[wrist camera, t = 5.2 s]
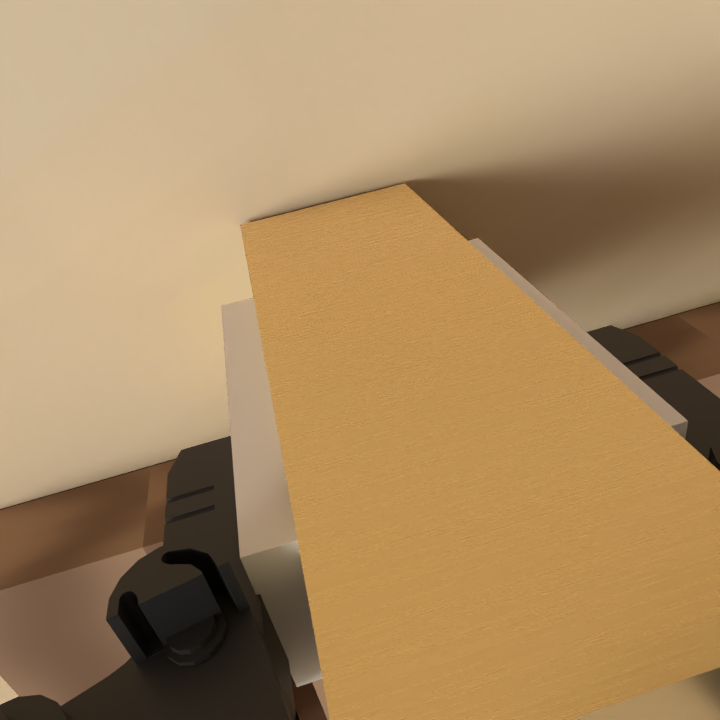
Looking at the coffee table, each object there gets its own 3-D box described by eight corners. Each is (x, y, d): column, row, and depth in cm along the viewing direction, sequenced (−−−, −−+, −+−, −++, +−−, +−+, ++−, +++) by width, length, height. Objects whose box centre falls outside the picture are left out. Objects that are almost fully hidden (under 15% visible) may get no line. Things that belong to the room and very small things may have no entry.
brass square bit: (404, 183, 14) (875, 612, 4) (424, 326, 17) (770, 834, 7) (240, 224, 14) (343, 797, 4) (282, 365, 16) (418, 967, 6)
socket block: (763, 289, 19) (849, 334, 16) (705, 574, 26) (758, 634, 24) (-22, 516, 17) (-61, 608, 14) (160, 757, 24) (155, 845, 22)
